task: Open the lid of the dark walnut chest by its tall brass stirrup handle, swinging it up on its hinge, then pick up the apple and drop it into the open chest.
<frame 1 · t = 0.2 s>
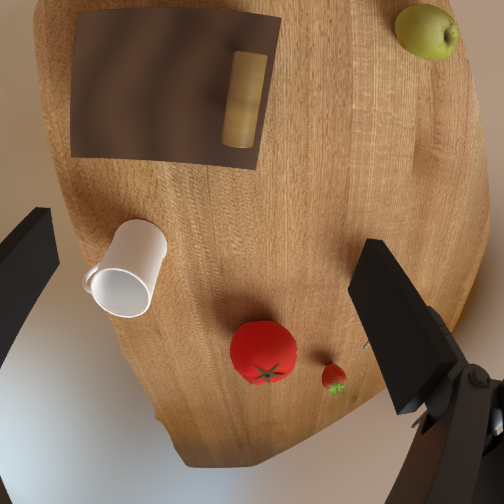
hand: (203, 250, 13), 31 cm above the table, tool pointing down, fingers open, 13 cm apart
apple: (410, 33, 32), on the table
tomato: (261, 329, 59), on the table
fruit: (330, 363, 67), on the table
lid: (153, 87, 22), point 16 cm above the table, hinge at 0.0°
mug: (130, 244, 48), on the table
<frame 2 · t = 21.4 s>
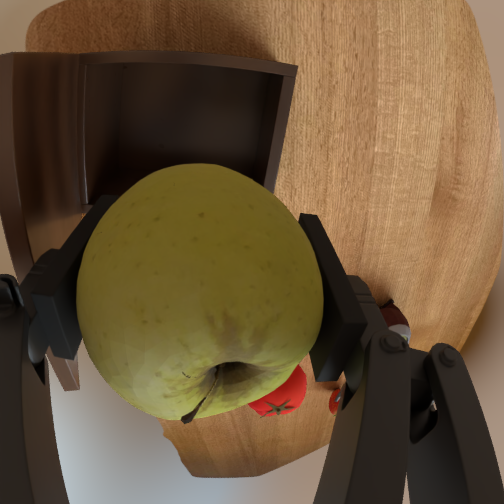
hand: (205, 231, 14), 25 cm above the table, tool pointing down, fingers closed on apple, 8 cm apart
chest: (189, 117, 34), on the table
apple: (206, 227, 14), point 24 cm above the table, touching gripper
tomato: (271, 361, 59), on the table
fruit: (337, 388, 66), on the table
mate gourd: (376, 311, 53), on the table
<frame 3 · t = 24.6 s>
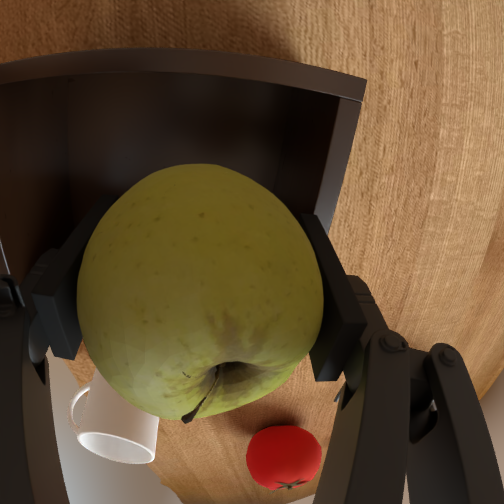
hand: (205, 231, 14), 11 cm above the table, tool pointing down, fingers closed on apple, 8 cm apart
chest: (169, 153, 23), on the table
apple: (207, 227, 14), point 11 cm above the table, touching gripper
tomato: (280, 428, 47), on the table
mug: (121, 359, 36), on the table
when the fingers open (11 cm above the table, at t = 24.9 s): apple drops 10 cm, resting on chest.
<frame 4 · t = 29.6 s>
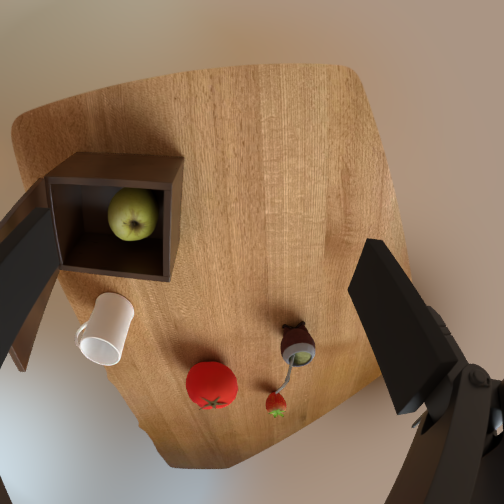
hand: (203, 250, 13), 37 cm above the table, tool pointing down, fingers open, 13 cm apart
chest: (127, 197, 50), on the table
apple: (141, 200, 49), point 1 cm above the table, touching chest
tomato: (212, 366, 74), on the table
fruit: (274, 391, 81), on the table
mug: (108, 307, 62), on the table
mate gourd: (291, 330, 68), on the table
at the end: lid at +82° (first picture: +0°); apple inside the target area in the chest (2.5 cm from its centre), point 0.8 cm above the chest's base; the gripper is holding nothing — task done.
